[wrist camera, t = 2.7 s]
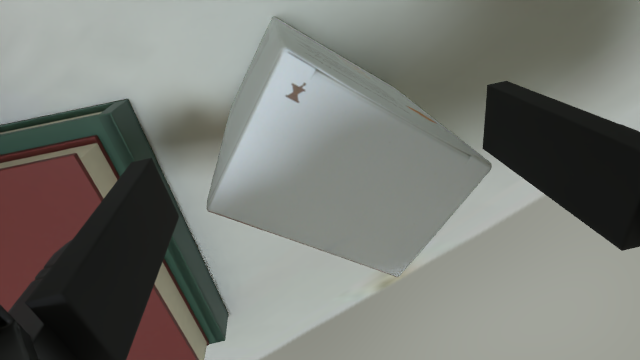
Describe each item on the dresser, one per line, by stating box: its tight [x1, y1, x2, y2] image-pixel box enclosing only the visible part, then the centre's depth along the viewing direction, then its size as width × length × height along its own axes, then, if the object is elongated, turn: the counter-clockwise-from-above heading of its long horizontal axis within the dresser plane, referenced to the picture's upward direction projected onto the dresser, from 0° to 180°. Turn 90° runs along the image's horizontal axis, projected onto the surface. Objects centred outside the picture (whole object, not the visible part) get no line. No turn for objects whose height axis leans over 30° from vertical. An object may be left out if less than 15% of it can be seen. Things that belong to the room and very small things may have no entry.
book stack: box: [0, 99, 228, 360], centre depth 21 cm, size 14×18×5 cm
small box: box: [207, 17, 492, 277], centre depth 15 cm, size 8×6×10 cm
